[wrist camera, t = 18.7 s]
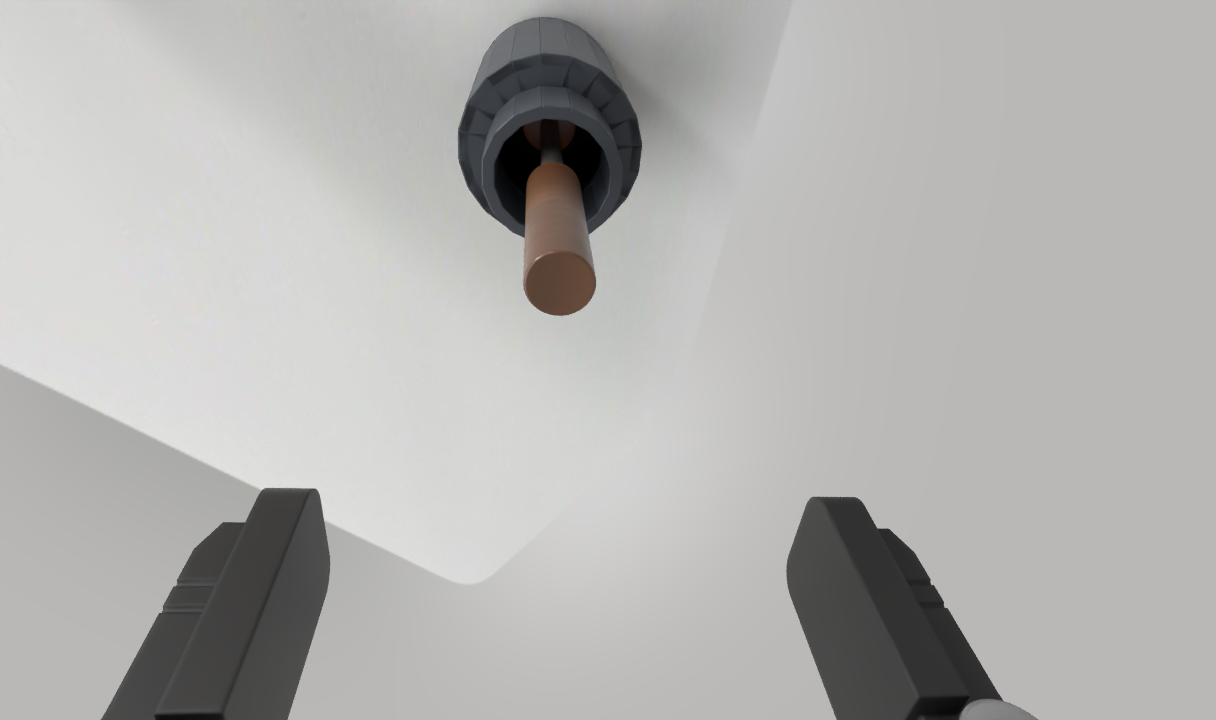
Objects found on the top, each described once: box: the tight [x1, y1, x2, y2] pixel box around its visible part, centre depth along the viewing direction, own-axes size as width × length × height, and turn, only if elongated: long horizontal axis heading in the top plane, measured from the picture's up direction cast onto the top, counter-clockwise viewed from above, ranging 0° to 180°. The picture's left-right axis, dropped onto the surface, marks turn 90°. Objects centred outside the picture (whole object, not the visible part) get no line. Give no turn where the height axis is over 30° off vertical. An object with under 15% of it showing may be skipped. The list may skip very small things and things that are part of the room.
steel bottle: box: [458, 17, 642, 238], centre depth 33 cm, size 8×8×16 cm
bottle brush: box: [522, 119, 596, 316], centre depth 29 cm, size 3×3×24 cm
